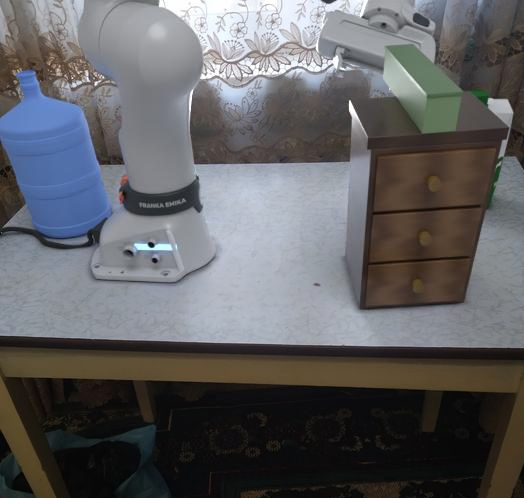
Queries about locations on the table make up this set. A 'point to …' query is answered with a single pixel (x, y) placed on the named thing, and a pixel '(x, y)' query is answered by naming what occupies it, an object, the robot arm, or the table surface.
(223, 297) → the table surface
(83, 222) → the water jug
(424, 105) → the storage box
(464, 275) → the drawer unit
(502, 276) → the table surface
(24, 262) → the table surface
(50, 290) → the table surface
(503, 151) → the milk carton
